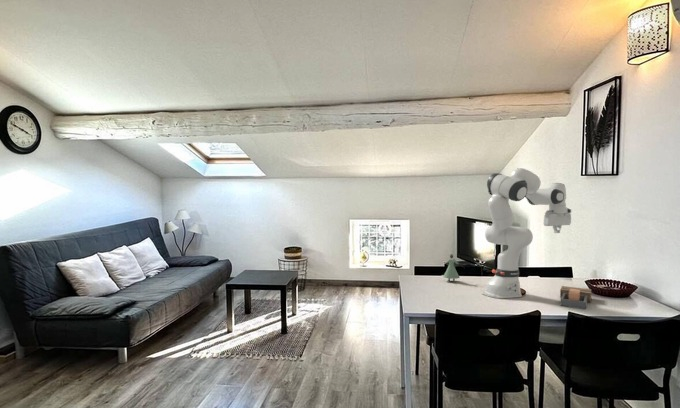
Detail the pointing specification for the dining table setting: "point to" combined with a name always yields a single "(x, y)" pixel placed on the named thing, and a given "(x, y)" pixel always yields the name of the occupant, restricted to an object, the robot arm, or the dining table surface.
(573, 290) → the terracotta block
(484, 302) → the dining table surface
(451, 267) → the character figurine
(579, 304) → the box
